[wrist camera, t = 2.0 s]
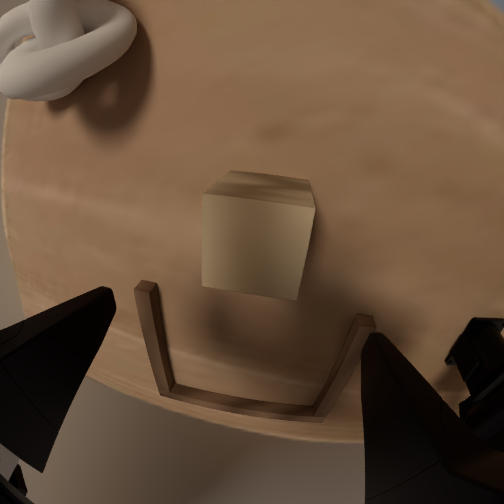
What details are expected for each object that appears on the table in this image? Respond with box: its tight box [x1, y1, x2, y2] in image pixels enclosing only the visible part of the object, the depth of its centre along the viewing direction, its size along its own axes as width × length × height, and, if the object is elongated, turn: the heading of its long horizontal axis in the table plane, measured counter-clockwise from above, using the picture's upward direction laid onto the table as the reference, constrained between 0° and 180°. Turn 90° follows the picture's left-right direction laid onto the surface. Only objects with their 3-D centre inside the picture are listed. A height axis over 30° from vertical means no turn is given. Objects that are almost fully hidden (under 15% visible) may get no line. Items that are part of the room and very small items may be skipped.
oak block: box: [202, 170, 315, 301], centre depth 15 cm, size 5×5×6 cm
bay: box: [134, 280, 376, 423], centre depth 25 cm, size 20×16×2 cm
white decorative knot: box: [0, 0, 137, 101], centre depth 9 cm, size 11×12×9 cm
